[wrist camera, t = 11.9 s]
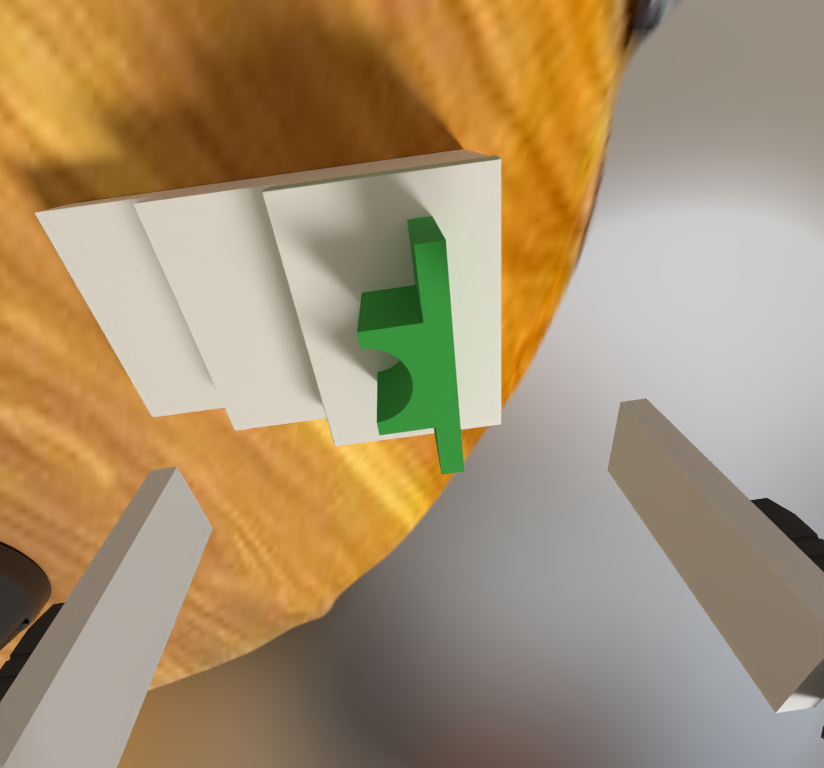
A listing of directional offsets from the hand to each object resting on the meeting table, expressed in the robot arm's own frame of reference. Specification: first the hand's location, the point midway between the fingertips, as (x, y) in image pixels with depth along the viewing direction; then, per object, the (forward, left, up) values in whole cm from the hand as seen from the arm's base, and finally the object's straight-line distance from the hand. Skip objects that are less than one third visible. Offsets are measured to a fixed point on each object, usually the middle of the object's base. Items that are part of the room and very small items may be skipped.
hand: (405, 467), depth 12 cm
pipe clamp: (+1, 0, -10) cm, 10 cm away
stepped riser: (-7, 0, -19) cm, 20 cm away
